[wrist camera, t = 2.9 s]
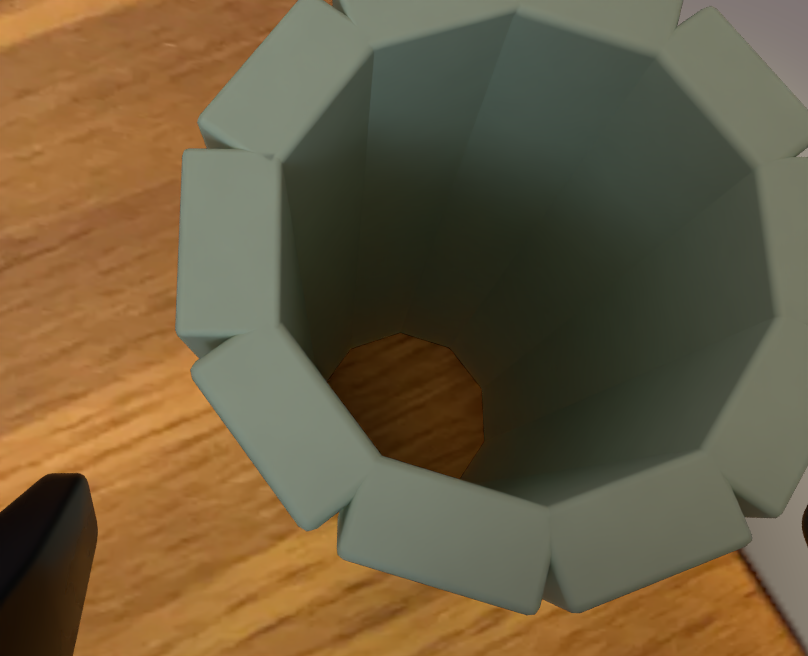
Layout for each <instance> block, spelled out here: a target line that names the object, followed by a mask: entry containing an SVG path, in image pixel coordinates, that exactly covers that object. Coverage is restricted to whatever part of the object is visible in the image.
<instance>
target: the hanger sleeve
mask: <svg viewBox="0 0 808 656" xmlns="http://www.w3.org/2000/svg"><path fill="white" fill-rule="evenodd" d="M682 4H683V0H333V7H332V6H331V5H329V4H328V3H326V2H325V1H323V0H298V1H297V2H296V4H295V5H294V6H293V7H292V8H291V9H290V11H289V12H288V13H287V14H286V15H285V16H284V18H283V19H282V20H281V21H280V22H279V23H278V25H277V26H276V27H275V28H274V29H273V30H272V32H271V33H270V34H269V35H268V36H267V37H266V39H265V40H264V41H263V42H262V43H261V44H260V46H259V47H258V48H257V49H256V50H255V51H254V53H253V54H252V55H251V56H250V57H249V58H248V60H247V61H246V62H245V63H244V64H243V65H242V67H241V68H240V69H239V70H238V71H237V72H236V74H235V75H234V76H233V77H232V78H231V79H230V81H229V82H228V83H227V84H226V85H225V86H224V88H223V89H222V90H221V91H220V92H219V93H218V95H217V96H216V97H215V98H214V99H213V100H212V102H211V103H210V104H209V105H208V106H207V107H206V109H205V110H204V111H203V112H202V113H201V114H200V116H199V119H198V122H197V123H198V126H199V128H200V131H201V134H202V136H203V139H204V142H205V145H206V147H207V149H186V150H185V151H184V153H183V155H182V176H181V200H180V225H179V250H178V275H177V300H176V324H175V331H176V333H177V336H178V337H179V338H180V339H181V340H182V341H183V342H184V343H185V344H186V345H187V346H188V347H189V348H190V349H191V350H192V351H193V352H194V353H195V354H196V356H197V357H198V358H199V360H197V361H196V362H195V363H194V365H193V366H192V368H191V369H190V371H191V375H192V379H193V381H194V382H195V383H196V385H197V386H198V388H199V389H200V390H201V392H202V393H203V395H204V396H205V397H206V399H207V400H208V402H209V403H210V404H211V406H212V407H213V408H214V410H215V411H216V413H217V414H218V415H219V417H220V418H221V420H222V421H223V422H224V424H225V425H226V426H227V428H228V429H229V431H230V432H231V433H232V435H233V436H234V438H235V439H236V440H237V442H238V443H239V444H240V446H241V447H242V449H243V450H244V451H245V453H246V454H247V456H248V457H249V458H250V460H251V461H252V463H253V464H254V465H255V467H256V468H257V469H258V471H259V472H260V474H261V475H262V476H263V478H264V479H265V481H266V482H267V483H268V485H269V486H270V487H271V489H272V490H273V492H274V493H275V494H276V496H277V497H278V499H279V500H280V501H281V503H282V504H283V506H284V507H285V508H286V510H287V511H288V512H289V514H290V515H291V517H292V518H293V519H294V521H295V522H296V524H297V525H298V526H299V527H301V528H302V529H304V530H306V531H310V530H314V529H317V528H318V527H320V526H321V525H322V524H323V523H325V522H326V521H327V520H329V519H330V518H331V517H332V516H334V515H335V514H336V513H338V512H339V511H340V512H339V515H338V526H337V554H338V555H339V556H340V557H341V558H342V559H343V560H346V561H349V562H353V563H356V564H359V565H363V566H366V567H369V568H372V569H376V570H379V571H382V572H386V573H389V574H392V575H396V576H399V577H402V578H406V579H409V580H412V581H415V582H419V583H422V584H425V585H429V586H432V587H435V588H439V589H442V590H445V591H448V592H452V593H455V594H458V595H462V596H465V597H468V598H472V599H475V600H478V601H481V602H485V603H488V604H491V605H495V606H498V607H501V608H505V609H508V610H511V611H514V612H518V613H521V614H524V615H534V614H536V612H537V611H538V609H539V608H540V605H541V601H542V599H543V600H545V601H547V602H550V603H552V604H554V605H556V606H558V607H560V608H562V609H565V610H567V611H569V612H571V613H582V612H584V611H587V610H589V609H592V608H594V607H596V606H599V605H601V604H604V603H606V602H609V601H611V600H614V599H616V598H619V597H621V596H624V595H626V594H629V593H631V592H634V591H636V590H639V589H641V588H644V587H646V586H649V585H651V584H654V583H656V582H659V581H661V580H664V579H666V578H668V577H671V576H673V575H676V574H678V573H681V572H683V571H686V570H688V569H691V568H693V567H696V566H698V565H701V564H703V563H706V562H708V561H711V560H713V559H716V558H718V557H721V556H723V555H726V554H728V553H731V552H733V551H736V550H738V549H741V548H743V547H745V546H747V545H748V544H749V543H750V542H751V541H752V534H751V532H750V530H749V527H748V525H747V522H746V520H745V518H744V517H752V518H755V517H756V518H777V517H778V516H779V515H781V514H782V513H783V511H784V509H785V508H786V506H787V504H788V502H789V500H790V498H791V496H792V494H793V492H794V491H795V489H796V487H797V485H798V483H799V481H800V479H801V477H802V476H803V473H804V472H805V470H806V468H807V466H808V157H796V156H797V155H799V154H800V153H801V152H802V151H804V150H805V149H806V148H808V109H807V108H806V107H805V106H804V105H803V104H802V103H801V102H800V101H799V99H798V98H797V97H796V96H795V95H794V94H793V93H792V92H791V91H790V90H789V89H788V88H787V86H786V85H785V84H784V83H783V82H782V81H781V79H780V78H779V77H778V76H777V75H776V74H775V73H774V72H773V71H772V70H771V68H770V67H769V66H768V65H767V64H766V63H765V62H764V61H763V60H762V58H761V57H760V56H759V55H758V54H757V53H756V52H755V51H754V50H753V49H752V47H751V46H750V45H749V44H748V43H747V42H746V41H745V40H744V38H743V37H742V36H741V35H740V34H739V33H738V32H737V31H736V30H735V29H734V27H733V26H732V25H731V24H730V23H729V22H728V21H727V20H726V19H725V17H724V16H723V15H722V14H721V13H720V12H719V11H718V10H717V9H716V8H714V7H712V6H710V7H706V8H704V9H701V10H700V11H699V12H697V13H696V14H694V15H693V16H691V17H690V18H688V19H687V20H686V21H684V22H683V23H681V24H680V25H679V26H677V24H678V21H679V16H680V11H681V8H682ZM400 332H401V333H404V334H407V335H410V336H414V337H417V338H420V339H423V340H427V341H430V342H433V343H436V344H440V345H443V346H446V347H449V348H450V349H451V350H452V351H453V352H454V354H455V355H456V356H457V358H458V359H459V360H460V361H461V363H462V364H463V365H464V367H465V368H466V369H467V370H468V372H469V373H470V374H471V375H472V377H473V378H474V379H475V381H476V382H477V383H478V384H479V386H480V387H481V388H482V404H483V424H484V443H483V444H482V446H481V448H480V449H479V451H478V452H477V454H476V455H475V457H474V458H473V460H472V461H471V463H470V464H469V466H468V467H467V469H466V470H465V472H464V474H463V475H462V477H461V478H460V479H457V478H454V477H450V476H447V475H444V474H440V473H437V472H434V471H431V470H427V469H424V468H421V467H417V466H414V465H411V464H408V463H404V462H401V461H398V460H395V459H391V458H388V457H385V456H382V455H381V454H380V452H379V451H378V450H377V448H376V447H375V446H374V444H373V443H372V442H371V440H370V439H369V438H368V436H367V435H366V434H365V432H364V431H363V430H362V428H361V427H360V426H359V424H358V423H357V422H356V420H355V419H354V418H353V416H352V415H351V414H350V412H349V411H348V410H347V408H346V407H345V406H344V404H343V403H342V402H341V400H340V399H339V398H338V396H337V395H336V394H335V392H334V391H333V390H332V388H331V387H330V386H329V384H328V383H327V380H328V379H329V378H330V376H331V375H332V374H333V372H334V371H335V369H336V368H337V367H338V365H339V364H340V363H341V361H342V360H343V358H344V357H345V356H346V354H347V353H348V352H349V350H350V349H351V348H354V347H357V346H360V345H363V344H366V343H369V342H372V341H376V340H379V339H382V338H385V337H388V336H391V335H394V334H397V333H400Z"/></svg>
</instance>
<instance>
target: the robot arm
mask: <svg viewBox="0 0 808 656" xmlns="http://www.w3.org/2000/svg"><path fill="white" fill-rule="evenodd" d="M802 530H803V535H804V538H805V541H806V543H807V546H808V505H807V507H806V509H805V511H804V514H803V518H802ZM97 535H98V528H97V520H96V516H95V511H94V507H93V502H92V498H91V493H90V489H89V485H88V481H87V479H86V478H85V476H84V475H82V474H79V473H52V474H48V475H45V476H44V477H42V478H41V479H40V480H38V481H37V482H36V483H35V484H34V485H32V486H31V487H30V488H29V489H28V490H26V491H25V492H24V493H23V494H22V495H20V496H19V497H18V498H17V499H16V500H14V501H13V502H12V503H11V504H10V505H8V506H7V507H6V508H5V509H4V510H2V511H1V512H0V656H73V652H74V648H75V643H76V639H77V634H78V629H79V624H80V620H81V615H82V610H83V605H84V601H85V596H86V591H87V586H88V582H89V577H90V572H91V567H92V563H93V558H94V553H95V549H96V543H97Z"/></svg>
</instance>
